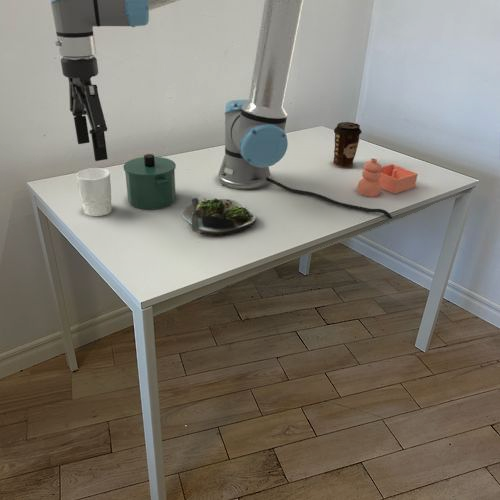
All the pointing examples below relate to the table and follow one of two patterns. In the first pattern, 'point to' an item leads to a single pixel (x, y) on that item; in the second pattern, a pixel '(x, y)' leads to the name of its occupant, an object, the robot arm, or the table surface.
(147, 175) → the pot lid
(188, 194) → the table surface
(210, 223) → the salad plate
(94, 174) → the white cup
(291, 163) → the table surface
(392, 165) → the pottery
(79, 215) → the table surface
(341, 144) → the coffee cup
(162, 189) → the pot
